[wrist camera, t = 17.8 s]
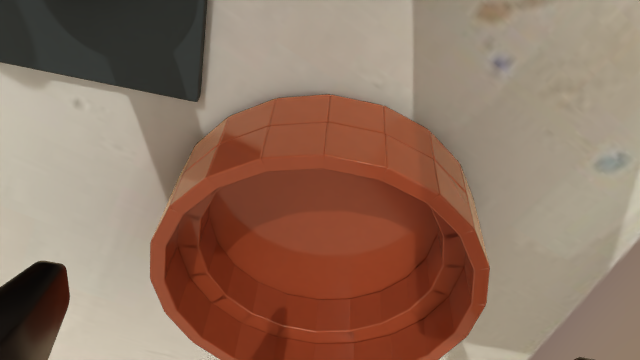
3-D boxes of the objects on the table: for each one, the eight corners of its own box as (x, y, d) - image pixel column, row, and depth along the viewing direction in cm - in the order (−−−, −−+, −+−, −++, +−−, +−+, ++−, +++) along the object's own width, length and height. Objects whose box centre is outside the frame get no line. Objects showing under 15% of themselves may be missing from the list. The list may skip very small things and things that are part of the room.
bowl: (520, 126, 22) (550, 199, 18) (418, 328, 30) (426, 406, 26) (187, 57, 21) (151, 119, 17) (174, 284, 29) (148, 359, 26)
